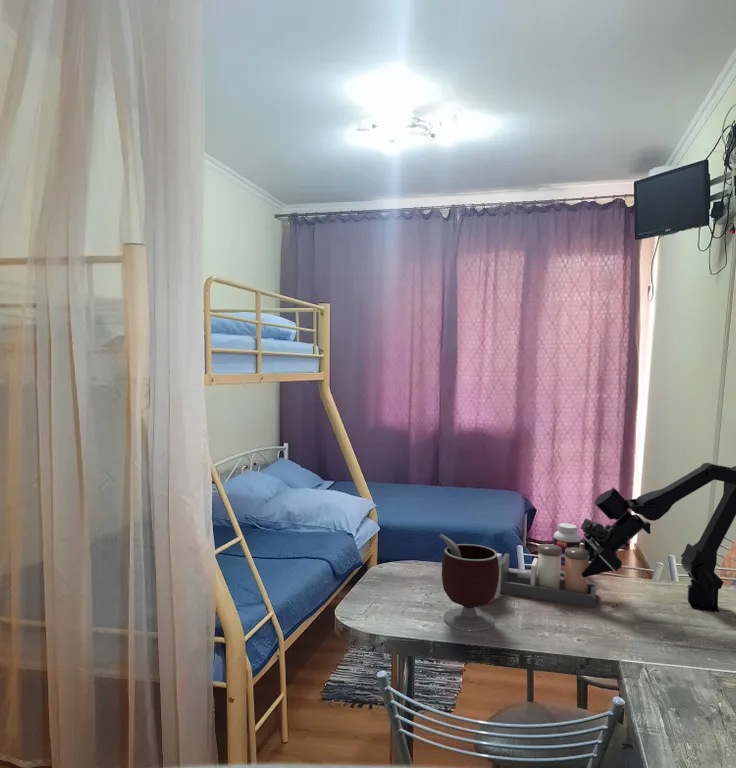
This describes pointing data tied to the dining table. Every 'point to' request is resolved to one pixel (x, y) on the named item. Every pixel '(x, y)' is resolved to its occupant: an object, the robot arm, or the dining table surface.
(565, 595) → the grey jar rack
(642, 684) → the dining table surface
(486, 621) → the mate gourd
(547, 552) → the cream jar
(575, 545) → the pill bottle
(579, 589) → the terracotta jar
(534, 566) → the pusher
